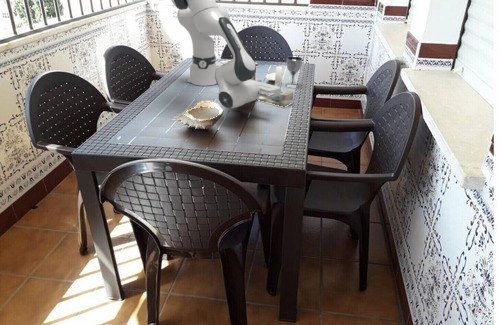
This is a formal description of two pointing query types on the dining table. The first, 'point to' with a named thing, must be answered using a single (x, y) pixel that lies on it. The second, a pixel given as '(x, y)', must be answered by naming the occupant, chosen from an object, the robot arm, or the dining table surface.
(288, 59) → the wine glass
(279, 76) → the white tall piece
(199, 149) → the dining table surface
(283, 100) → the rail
